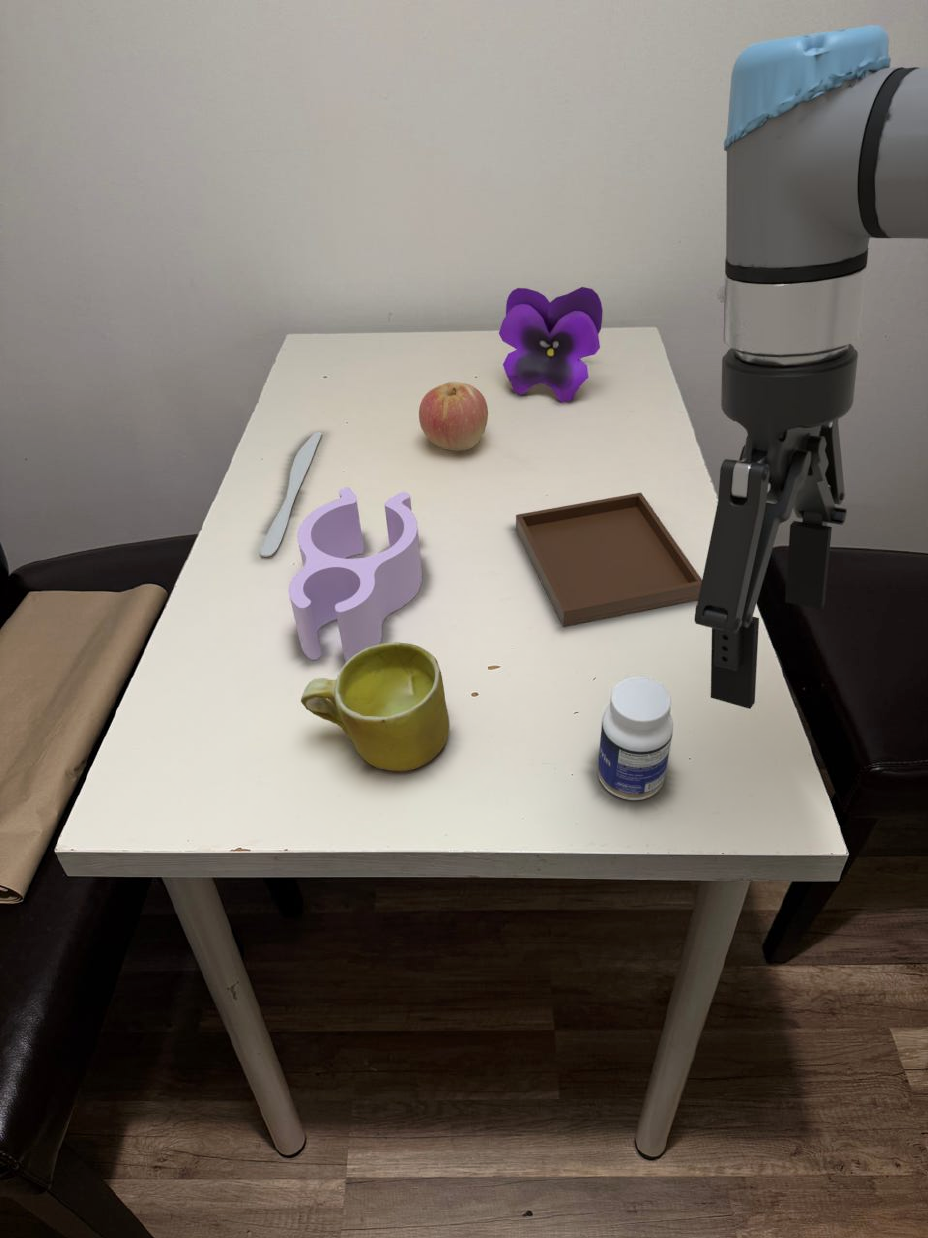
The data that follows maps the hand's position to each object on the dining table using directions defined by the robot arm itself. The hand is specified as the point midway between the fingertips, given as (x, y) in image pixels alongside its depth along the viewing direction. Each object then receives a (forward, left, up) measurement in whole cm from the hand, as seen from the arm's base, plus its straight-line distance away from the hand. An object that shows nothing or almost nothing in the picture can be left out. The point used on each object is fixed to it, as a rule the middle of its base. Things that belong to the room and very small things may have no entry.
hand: (771, 649), depth 63 cm
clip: (+34, +26, -17) cm, 47 cm away
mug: (+14, +27, -17) cm, 35 cm away
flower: (+74, -9, -17) cm, 77 cm away
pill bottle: (+4, +7, -17) cm, 19 cm away
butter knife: (+56, +31, -17) cm, 67 cm away
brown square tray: (+32, -1, -17) cm, 37 cm away
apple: (+61, +9, -17) cm, 64 cm away
